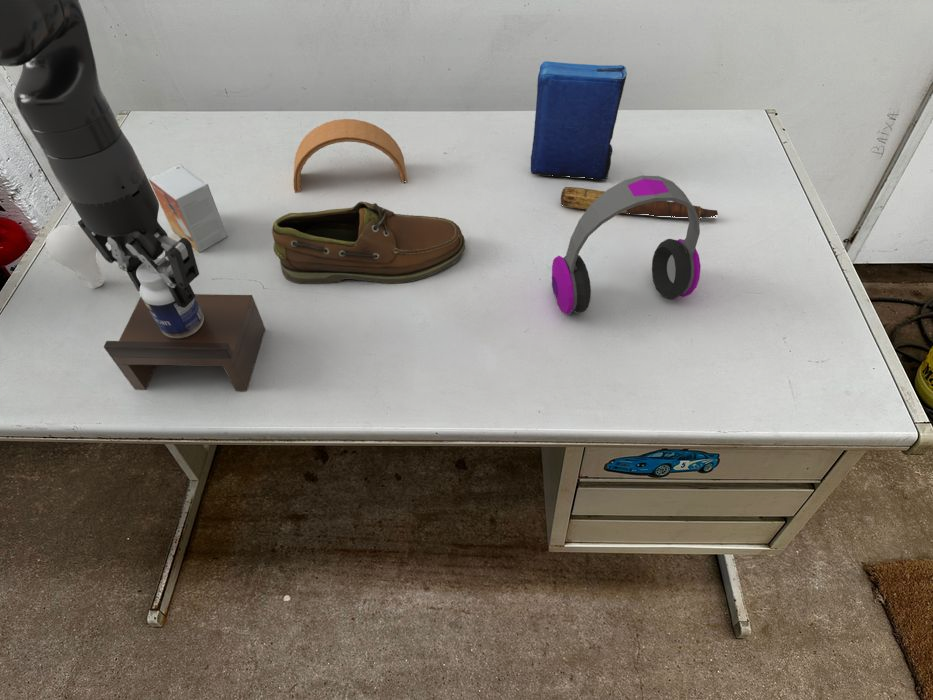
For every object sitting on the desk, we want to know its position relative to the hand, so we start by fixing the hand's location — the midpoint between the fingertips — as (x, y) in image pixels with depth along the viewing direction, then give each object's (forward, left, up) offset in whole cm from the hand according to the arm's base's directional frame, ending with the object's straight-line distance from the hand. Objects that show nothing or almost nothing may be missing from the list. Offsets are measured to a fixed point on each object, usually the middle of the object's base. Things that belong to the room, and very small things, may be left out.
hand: (167, 294), depth 74 cm
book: (+34, +61, -13) cm, 71 cm away
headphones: (+50, +34, -13) cm, 62 cm away
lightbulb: (-24, +5, -13) cm, 27 cm away
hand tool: (+48, +55, -13) cm, 74 cm away
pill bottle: (0, 0, -6) cm, 6 cm away
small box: (-17, +21, -13) cm, 30 cm away
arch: (-2, +44, -13) cm, 46 cm away
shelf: (0, 0, -12) cm, 12 cm away
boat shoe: (+13, +26, -13) cm, 32 cm away
